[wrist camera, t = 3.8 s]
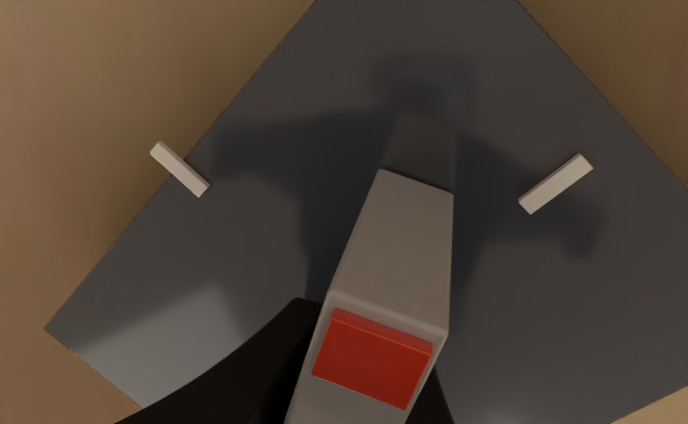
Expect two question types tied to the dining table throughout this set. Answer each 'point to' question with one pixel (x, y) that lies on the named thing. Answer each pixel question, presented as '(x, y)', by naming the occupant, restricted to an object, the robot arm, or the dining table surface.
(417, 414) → the robot arm
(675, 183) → the tile base
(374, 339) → the upright gray tile
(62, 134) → the dining table surface
